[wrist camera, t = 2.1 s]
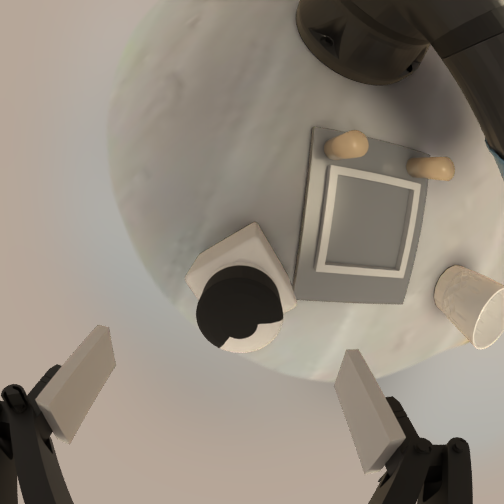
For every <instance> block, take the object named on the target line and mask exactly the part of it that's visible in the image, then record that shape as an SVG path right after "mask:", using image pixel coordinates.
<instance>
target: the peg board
mask: <svg viewBox="0 0 504 504" xmlns="http://www.w3.org/2000/svg"><path fill="white" fill-rule="evenodd" d="M454 173H455V168H454V164H453V162H452V160H451V159H450V158H448V157H430V155H429V154H426V153H423V152H420V151H416V150H413V149H410V148H407V147H403V146H400V145H396V144H393V143H389V142H385V141H381V140H377V139H373V138H369V137H366V136H365V135H364V134H363V133H362V132H360V131H357V130H352V131H349V132H342V131H337V130H332V129H327V128H321V127H313V128H312V136H311V147H310V157H309V167H308V176H307V185H306V194H305V202H304V211H303V218H302V226H301V234H300V241H299V248H298V255H297V262H296V269H295V275H294V282H293V288H292V289H293V292H294V294H295V297H296V300H307V301H324V302H343V303H368V304H403V302H404V298H405V295H406V291H407V288H408V284H409V280H410V277H411V273H412V269H413V265H414V260H415V256H416V251H417V247H418V242H419V237H420V232H421V226H422V221H423V215H424V208H425V202H426V194H427V186H428V179H435V180H445V181H449V180H451V179H452V178H453V176H454Z"/></svg>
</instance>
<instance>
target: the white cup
mask: <svg viewBox="0 0 504 504" xmlns="http://www.w3.org/2000/svg"><path fill="white" fill-rule="evenodd" d="M434 300H435V304H436V306H437V307H438V308H439V309H440V310H441V311H442V312H443V313H444V314H445V315H446V316H447V318H448V319H449V320H450V321H451V322H452V324H454V325H455V327H456V328H457V329H458V330H459V331H460V332H461V333H462V334H463V335H464V336H465V337H466V338H467V339H468V340H469V341H470V342H471V343H472V344H473V345H474V347H475V348H477V349H485V348H487V347H489V346H490V345H491V344H493V343H494V342H495V341H496V340H497V339H498V338H499V337H500V335H501V334H502V333H503V331H504V285H502V284H500V283H498V282H496V281H494V280H492V279H490V278H488V277H486V276H484V275H482V274H479V273H477V272H475V271H472V270H469V269H467V268H465V267H463V266H458V265H454V266H452V267H450V268H448V269H447V270H446V271H445V272H444V273H443V274H442V275H441V276H440V278H439V280H438V282H437V284H436V287H435V293H434Z"/></svg>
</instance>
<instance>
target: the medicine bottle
mask: <svg viewBox="0 0 504 504" xmlns="http://www.w3.org/2000/svg"><path fill="white" fill-rule="evenodd" d="M185 281H186V283H187V284H188V286H189V287H190V289H191V290H192V291H193V293H194V294H195V296H196V297H197V298H198V300H199V302H198V305H197V310H196V318H197V323H198V326H199V329H200V330H201V332H202V334H203V335H204V336H205V338H206V339H207V340H208V341H210V342H211V343H212V344H213V345H215V346H217V347H218V348H221V349H223V350H226V351H229V352H235V353H247V352H252V351H256V350H259V349H261V348H263V347H265V346H266V345H268V344H269V343H270V342H272V341H273V340H274V339H275V337H276V336H277V335H278V333H279V331H280V329H281V326H282V323H283V314H284V313H286V312H287V311H289V310H291V309H293V308H295V307H296V306H297V300H296V297H295V294H294V292H293V289H292V286H291V283H290V280H289V277H288V275H287V273H286V271H285V269H284V268H283V266H282V264H281V263H280V261H279V259H278V257H277V256H276V254H275V252H274V251H273V249H272V247H271V245H270V244H269V242H268V240H267V239H266V237H265V235H264V234H263V232H262V230H261V229H260V227H259V225H258V224H257V223H256V222H254V223H251V224H250V225H248V226H246V227H245V228H243V229H241V230H239V231H238V232H236V233H234V234H233V235H231V236H229V237H227V238H226V239H224V240H222V241H221V242H219V243H217V244H216V245H214V246H212V247H210V248H209V249H207V250H205V251H204V252H202V253H200V254H199V255H198V257H197V259H196V260H195V262H194V263H193V265H192V267H191V268H190V270H189V271H188V273H187V275H186V276H185Z"/></svg>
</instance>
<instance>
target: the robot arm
mask: <svg viewBox="0 0 504 504" xmlns="http://www.w3.org/2000/svg"><path fill="white" fill-rule="evenodd" d="M296 22H297V27H298V30H299V33H300V35H301V37H302V39H303V41H304V43H305V44H306V45H307V47H308V48H309V49H310V51H311V52H312V53H313V54H314V55H315V56H316V57H317V58H318V59H319V60H320V61H322V62H323V63H324V64H325V65H327V66H328V67H329V68H331V69H332V70H334V71H336V72H337V73H339V74H341V75H343V76H345V77H347V78H349V79H352V80H355V81H358V82H361V83H365V84H371V85H388V84H392V83H395V82H398V81H400V80H402V79H404V78H405V77H407V76H409V75H410V74H412V73H413V72H414V71H415V70H416V69H417V68H418V66H419V65H420V63H421V61H422V59H423V58H424V56H425V54H426V52H427V50H428V48H429V46H430V44H431V45H432V46H433V48H434V49H435V50H436V52H437V53H438V55H439V56H440V57H441V59H442V61H443V62H444V63H445V65H446V66H447V68H448V69H449V71H450V72H451V74H452V75H453V77H454V79H455V80H456V82H457V83H458V85H459V87H460V88H461V90H462V92H463V94H464V95H465V97H466V99H467V101H468V103H469V105H470V106H471V108H472V110H473V112H474V114H475V116H476V118H477V120H478V122H479V124H480V127H481V129H482V131H483V133H484V135H485V142H486V145H487V147H488V149H489V151H490V152H491V153H492V155H493V156H494V158H495V161H496V163H497V165H498V168H499V170H500V173H501V175H502V178H503V180H504V0H300V2H299V5H298V8H297V13H296ZM115 366H116V362H115V358H114V353H113V348H112V342H111V336H110V330H109V327H105V326H100V325H97V326H96V327H95V328H94V330H93V331H92V332H91V333H90V334H89V335H88V337H86V339H85V340H84V341H83V342H82V343H81V344H80V345H79V347H78V348H77V349H76V350H75V351H74V352H73V354H72V355H71V356H70V357H69V358H68V359H67V361H66V362H65V363H64V364H63V365H62V366H60V365H55V366H53V367H52V368H50V369H49V370H48V371H47V372H46V373H45V375H44V376H43V377H42V378H41V379H40V381H39V382H38V383H37V384H36V385H35V387H34V388H33V389H32V390H31V391H30V393H29V394H28V395H26V393H25V391H24V389H23V388H22V387H21V386H20V385H17V384H12V385H8V386H7V387H5V388H4V389H3V391H2V393H1V396H2V398H3V400H4V401H0V504H18V497H17V476H18V480H19V484H20V488H21V492H22V495H23V499H24V502H25V504H74V503H73V501H72V499H71V496H70V494H69V491H68V489H67V486H66V484H65V481H64V478H63V475H62V472H61V469H60V466H59V463H58V460H57V457H56V453H55V450H54V446H53V443H52V439H51V437H50V435H51V433H52V432H53V433H54V434H55V436H56V438H57V439H59V440H61V441H63V442H66V443H68V444H70V443H71V441H72V440H73V438H74V436H75V434H76V432H77V430H78V429H79V427H80V425H81V423H82V422H83V420H84V418H85V416H86V415H87V413H88V411H89V409H90V408H91V406H92V404H93V402H94V401H95V399H96V397H97V396H98V394H99V392H100V391H101V389H102V387H103V386H104V384H105V382H106V381H107V379H108V378H109V376H110V374H111V372H112V371H113V369H114V368H115ZM334 387H335V390H336V393H337V395H338V398H339V401H340V404H341V407H342V409H343V412H344V415H345V418H346V421H347V424H348V427H349V429H350V432H351V435H352V438H353V441H354V444H355V447H356V450H357V453H358V456H359V459H360V462H361V465H362V468H363V471H364V474H365V475H366V474H371V473H375V472H379V471H380V470H381V469H382V468H383V467H384V466H385V467H386V469H387V471H386V473H385V474H384V475H383V476H382V477H381V478H380V479H379V481H378V482H380V481H381V482H380V484H379V486H378V487H377V489H376V491H375V493H374V494H373V496H372V498H371V500H370V501H369V503H368V504H416V502H417V504H473V496H472V495H473V494H472V471H471V459H470V449H469V445H468V443H467V442H466V441H465V440H464V439H462V438H458V437H456V438H452V439H451V440H450V441H449V442H448V443H447V444H446V445H432V443H431V442H430V441H428V440H427V439H425V438H420V437H419V436H418V434H417V433H416V431H415V429H414V427H413V425H412V423H411V421H410V420H409V418H408V417H407V414H406V413H405V411H404V409H403V407H402V406H401V404H400V402H399V401H397V400H396V399H395V398H394V397H393V396H392V397H385V396H384V394H383V393H382V391H381V389H380V387H379V385H378V383H377V382H376V380H375V378H374V376H373V374H372V372H371V371H370V369H369V367H368V365H367V364H366V362H365V360H364V358H363V356H362V355H361V353H360V351H359V349H356V350H346V352H345V355H344V358H343V361H342V364H341V367H340V370H339V373H338V376H337V379H336V382H335V385H334ZM417 499H418V501H417Z"/></svg>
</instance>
